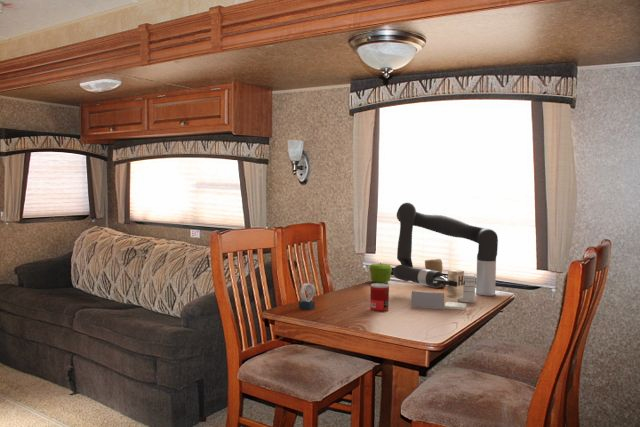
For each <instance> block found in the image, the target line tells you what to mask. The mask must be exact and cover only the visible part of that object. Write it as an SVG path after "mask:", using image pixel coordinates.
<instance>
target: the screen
mask: <svg viewBox="0 0 640 427" xmlns="http://www.w3.org/2000/svg"><path fill="white" fill-rule="evenodd" d="M410 304H411V305H410V307H411V308H421V309H429V310H431V309H432V310H444V309H445V308H444V305H445V293H444V292H434V291H433V292H432V291H420V290H412V291H411V303H410Z"/></svg>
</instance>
